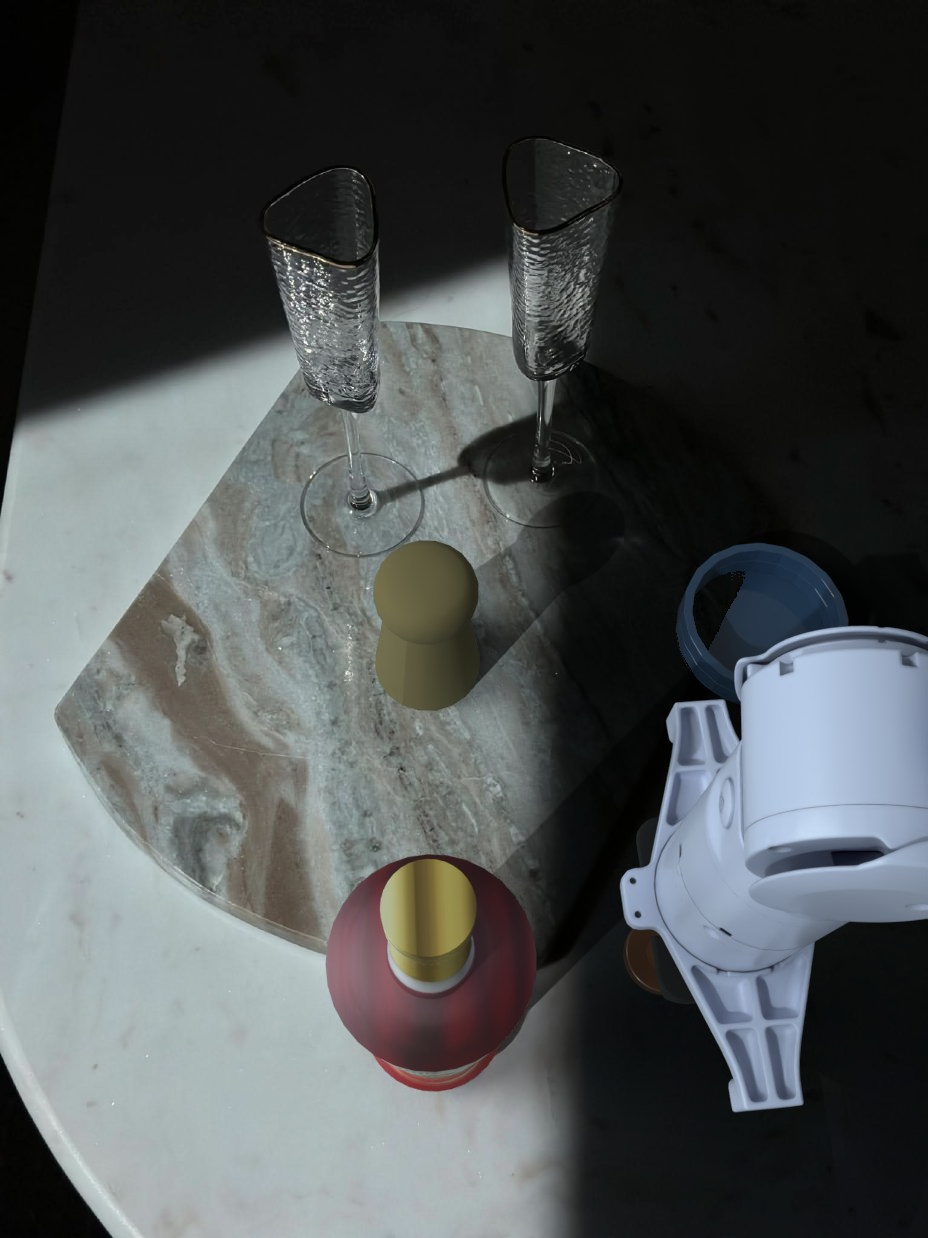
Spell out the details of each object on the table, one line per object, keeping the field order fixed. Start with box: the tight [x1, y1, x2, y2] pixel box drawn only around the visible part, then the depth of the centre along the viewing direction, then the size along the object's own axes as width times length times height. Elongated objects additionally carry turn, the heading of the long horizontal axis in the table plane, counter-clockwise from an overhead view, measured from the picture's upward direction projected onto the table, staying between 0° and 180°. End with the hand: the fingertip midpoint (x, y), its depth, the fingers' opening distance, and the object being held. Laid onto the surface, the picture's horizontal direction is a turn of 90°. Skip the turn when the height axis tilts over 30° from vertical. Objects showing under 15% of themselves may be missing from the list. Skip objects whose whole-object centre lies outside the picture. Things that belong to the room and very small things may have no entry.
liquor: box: [325, 853, 537, 1093], centre depth 44 cm, size 7×7×28 cm
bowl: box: [675, 542, 849, 705], centre depth 65 cm, size 9×9×3 cm
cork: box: [372, 539, 481, 712], centre depth 60 cm, size 6×6×11 cm
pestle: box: [622, 928, 663, 996], centre depth 50 cm, size 4×4×10 cm
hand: (685, 934), depth 50 cm, fingers closed on pestle, 2 cm apart
